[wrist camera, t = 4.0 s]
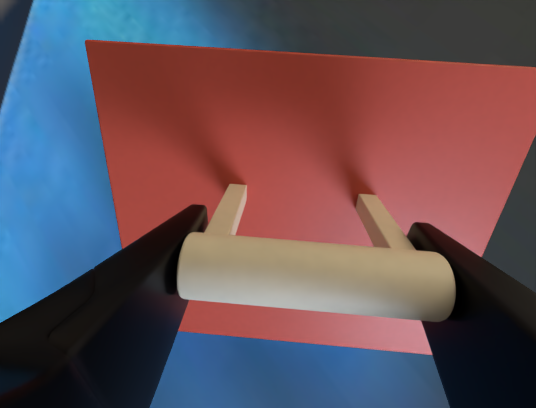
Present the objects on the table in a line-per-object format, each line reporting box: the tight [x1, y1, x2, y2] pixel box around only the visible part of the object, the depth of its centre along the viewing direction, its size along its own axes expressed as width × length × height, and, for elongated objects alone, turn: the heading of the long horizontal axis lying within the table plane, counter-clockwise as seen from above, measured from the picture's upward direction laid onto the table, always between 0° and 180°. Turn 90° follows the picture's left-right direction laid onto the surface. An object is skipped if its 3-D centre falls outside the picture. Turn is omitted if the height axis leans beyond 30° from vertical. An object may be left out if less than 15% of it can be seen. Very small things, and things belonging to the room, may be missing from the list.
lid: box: [85, 40, 536, 355], centre depth 10 cm, size 13×15×6 cm
